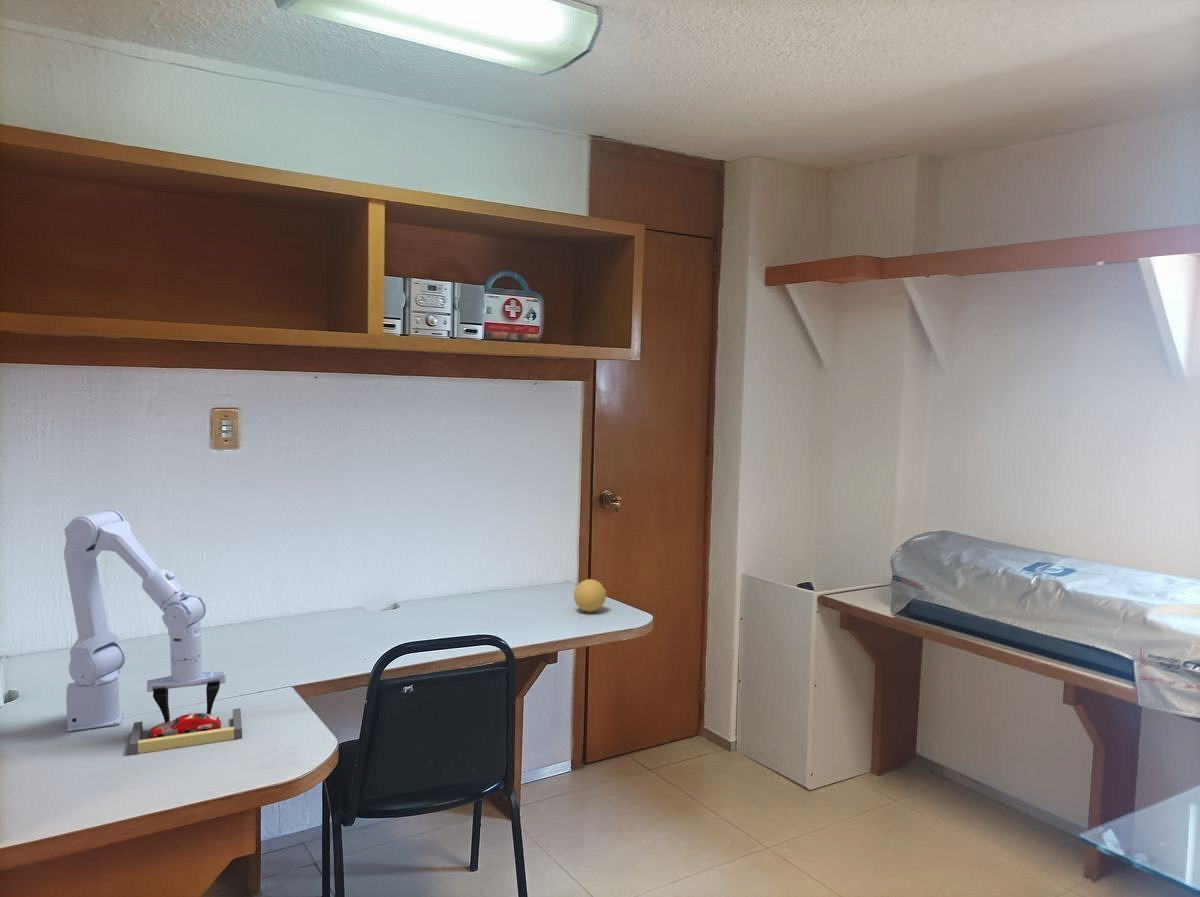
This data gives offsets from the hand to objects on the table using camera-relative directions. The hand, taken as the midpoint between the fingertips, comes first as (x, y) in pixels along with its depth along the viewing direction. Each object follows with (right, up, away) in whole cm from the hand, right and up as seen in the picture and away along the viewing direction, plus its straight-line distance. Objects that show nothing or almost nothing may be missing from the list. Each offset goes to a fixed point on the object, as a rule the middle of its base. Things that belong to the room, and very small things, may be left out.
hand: (188, 720), depth 181 cm
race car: (+1, -2, -3) cm, 4 cm away
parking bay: (+2, -2, -4) cm, 5 cm away
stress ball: (+82, +6, +90) cm, 122 cm away
